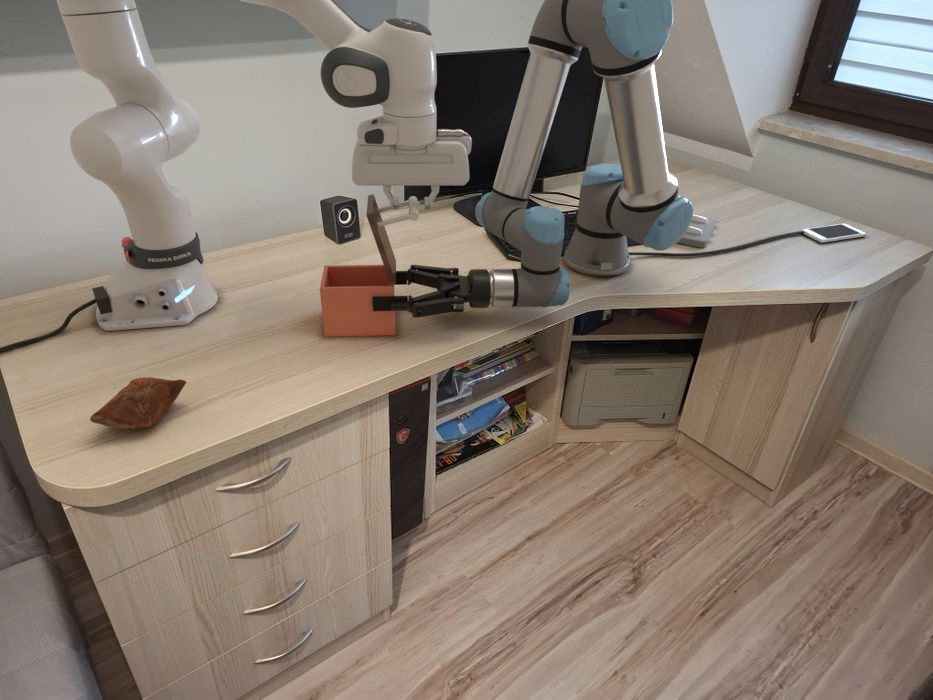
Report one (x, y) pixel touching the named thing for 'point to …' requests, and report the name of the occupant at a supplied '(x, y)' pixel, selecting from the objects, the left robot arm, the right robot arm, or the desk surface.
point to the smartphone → (833, 233)
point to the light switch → (698, 232)
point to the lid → (381, 233)
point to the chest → (355, 300)
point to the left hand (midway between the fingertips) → (411, 208)
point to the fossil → (139, 403)
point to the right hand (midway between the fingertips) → (373, 290)
